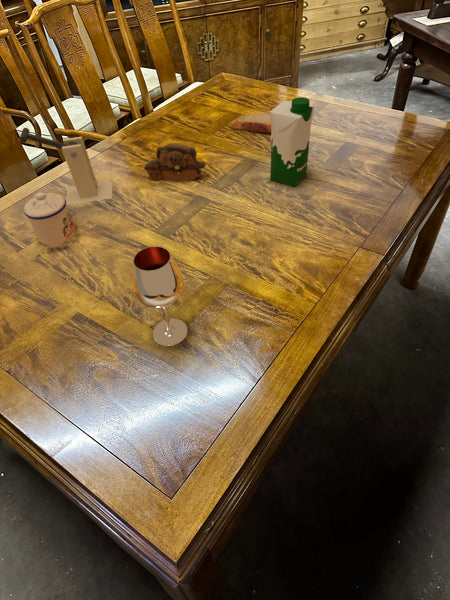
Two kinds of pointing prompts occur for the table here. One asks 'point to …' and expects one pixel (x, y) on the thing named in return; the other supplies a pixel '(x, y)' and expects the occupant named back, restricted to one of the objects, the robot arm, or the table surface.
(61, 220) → the teacup with lid
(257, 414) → the table surface
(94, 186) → the tan upright plank
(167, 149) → the wooden carving
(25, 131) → the lever
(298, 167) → the milk carton
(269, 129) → the slice of bread
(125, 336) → the table surface
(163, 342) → the wineglass
